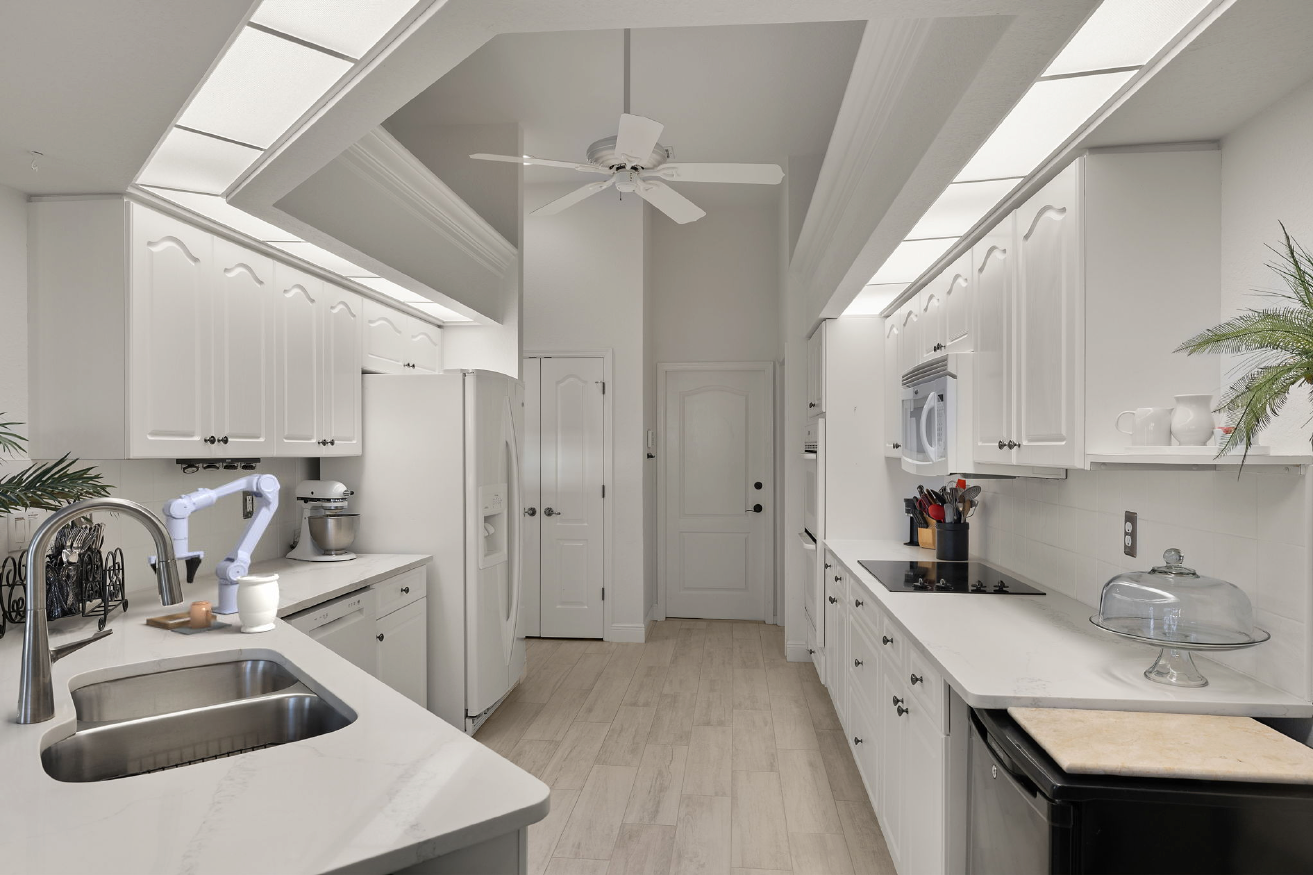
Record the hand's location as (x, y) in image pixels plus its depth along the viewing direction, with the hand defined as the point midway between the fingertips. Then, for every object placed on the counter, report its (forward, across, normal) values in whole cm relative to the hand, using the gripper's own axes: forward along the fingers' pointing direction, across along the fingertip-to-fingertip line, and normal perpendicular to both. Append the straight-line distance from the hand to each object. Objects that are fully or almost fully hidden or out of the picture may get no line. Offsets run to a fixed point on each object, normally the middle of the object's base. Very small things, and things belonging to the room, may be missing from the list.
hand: (176, 584), depth 220 cm
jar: (+11, -5, +34) cm, 36 cm away
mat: (+10, +2, +18) cm, 21 cm away
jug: (+10, +2, +18) cm, 20 cm away
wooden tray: (+10, +1, +5) cm, 12 cm away
